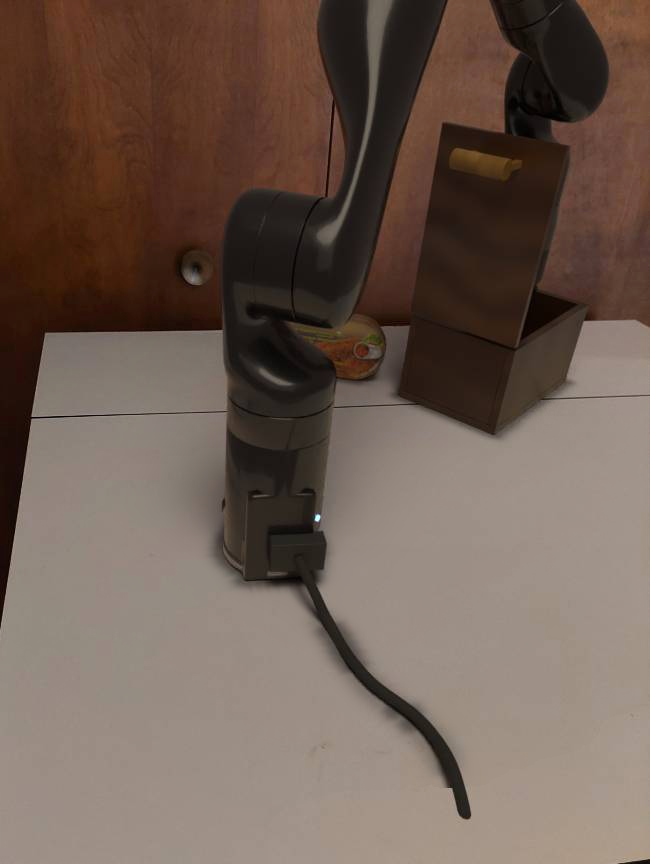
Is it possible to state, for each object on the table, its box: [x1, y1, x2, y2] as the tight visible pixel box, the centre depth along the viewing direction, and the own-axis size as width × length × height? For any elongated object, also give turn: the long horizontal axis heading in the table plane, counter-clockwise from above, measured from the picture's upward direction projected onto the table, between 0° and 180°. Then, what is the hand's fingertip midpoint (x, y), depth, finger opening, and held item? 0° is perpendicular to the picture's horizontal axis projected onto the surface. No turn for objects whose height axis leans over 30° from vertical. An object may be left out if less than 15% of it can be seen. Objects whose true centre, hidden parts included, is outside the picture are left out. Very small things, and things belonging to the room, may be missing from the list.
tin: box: [288, 313, 387, 380], centre depth 107 cm, size 15×3×8 cm, turn 73°
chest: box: [397, 288, 590, 435], centre depth 104 cm, size 20×14×11 cm
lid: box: [409, 121, 571, 348], centre depth 86 cm, size 21×14×5 cm
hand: (487, 369), depth 106 cm, fingers closed on block, 4 cm apart
